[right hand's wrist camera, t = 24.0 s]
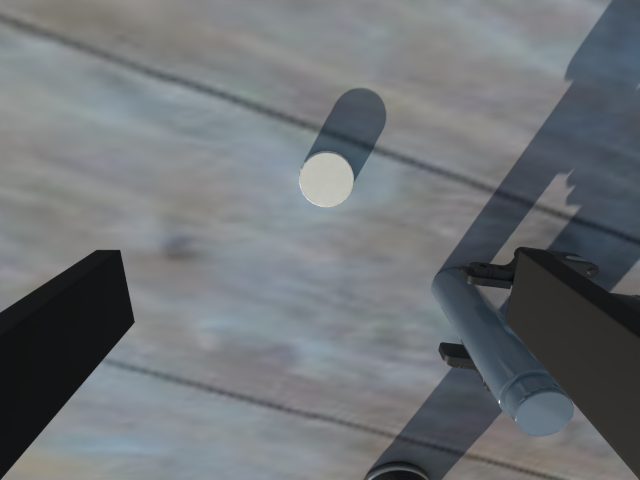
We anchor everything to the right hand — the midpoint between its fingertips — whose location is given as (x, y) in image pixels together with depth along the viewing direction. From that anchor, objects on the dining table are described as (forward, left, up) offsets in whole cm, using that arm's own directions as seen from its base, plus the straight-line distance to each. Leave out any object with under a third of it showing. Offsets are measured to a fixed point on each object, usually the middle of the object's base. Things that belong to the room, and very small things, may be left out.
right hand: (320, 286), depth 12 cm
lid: (+1, 0, -23) cm, 23 cm away
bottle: (+14, +12, -25) cm, 31 cm away
